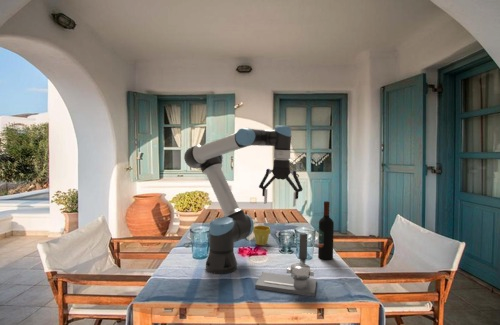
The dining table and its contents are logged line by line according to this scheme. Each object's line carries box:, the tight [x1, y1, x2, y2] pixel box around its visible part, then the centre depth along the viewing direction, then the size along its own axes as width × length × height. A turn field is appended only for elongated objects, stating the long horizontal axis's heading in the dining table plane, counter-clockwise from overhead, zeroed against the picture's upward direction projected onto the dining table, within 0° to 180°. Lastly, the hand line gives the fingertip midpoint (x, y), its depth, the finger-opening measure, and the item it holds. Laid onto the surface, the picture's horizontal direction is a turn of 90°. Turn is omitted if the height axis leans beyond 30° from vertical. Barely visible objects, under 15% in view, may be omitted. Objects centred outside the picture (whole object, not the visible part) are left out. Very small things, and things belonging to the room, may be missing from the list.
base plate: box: [254, 271, 317, 297], centre depth 125 cm, size 24×13×6 cm, turn 74°
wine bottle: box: [317, 201, 335, 262], centre depth 156 cm, size 8×8×30 cm
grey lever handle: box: [286, 232, 315, 281], centre depth 126 cm, size 18×11×14 cm, turn 165°
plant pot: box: [252, 225, 271, 246], centre depth 180 cm, size 10×10×10 cm
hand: (279, 204), depth 138 cm, fingers open, 13 cm apart
